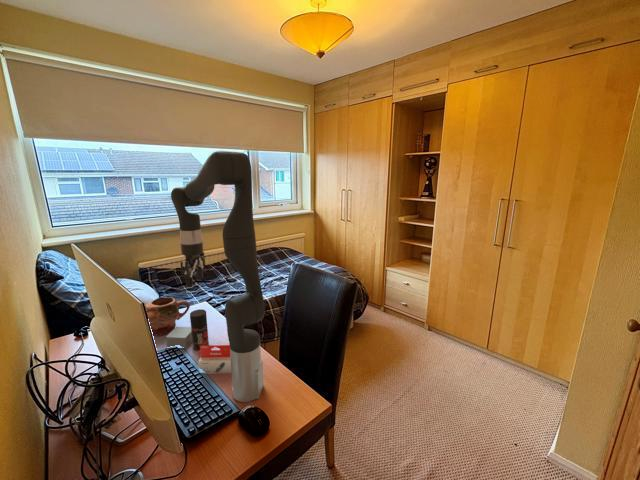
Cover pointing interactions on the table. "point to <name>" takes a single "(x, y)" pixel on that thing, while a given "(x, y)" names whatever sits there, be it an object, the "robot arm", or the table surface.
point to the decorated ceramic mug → (164, 314)
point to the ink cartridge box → (215, 359)
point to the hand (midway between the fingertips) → (195, 282)
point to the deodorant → (199, 329)
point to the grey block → (180, 337)
